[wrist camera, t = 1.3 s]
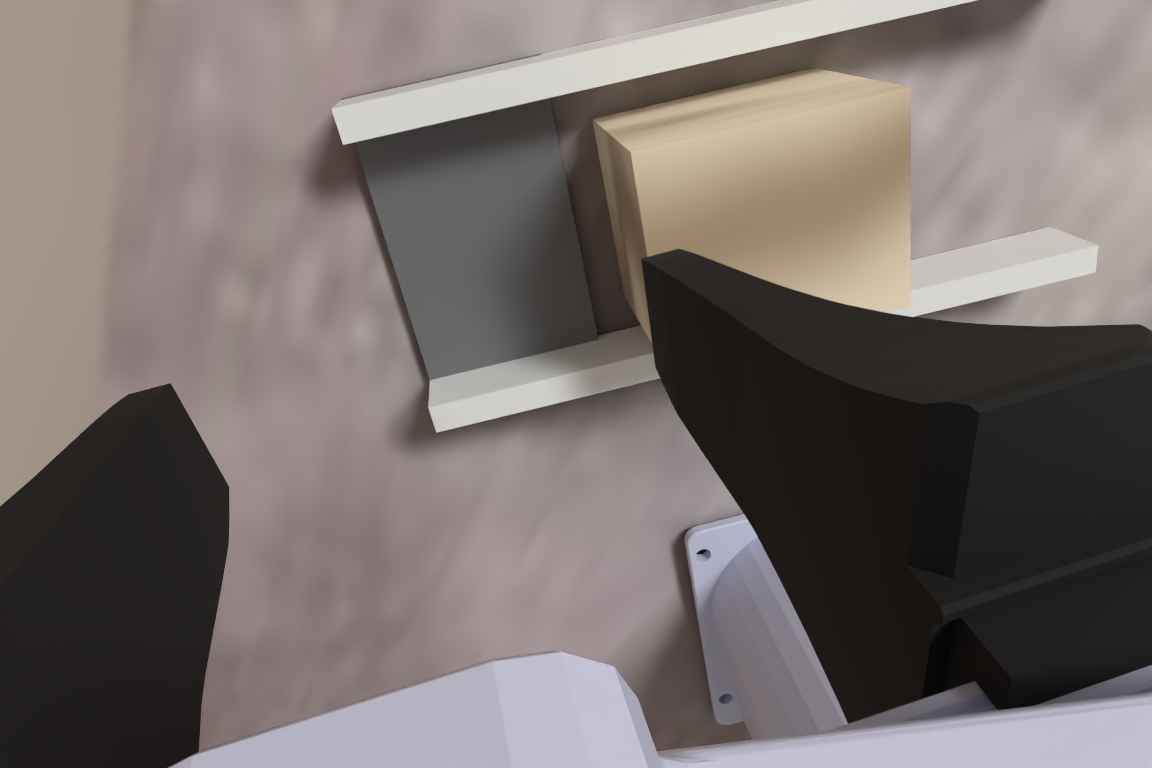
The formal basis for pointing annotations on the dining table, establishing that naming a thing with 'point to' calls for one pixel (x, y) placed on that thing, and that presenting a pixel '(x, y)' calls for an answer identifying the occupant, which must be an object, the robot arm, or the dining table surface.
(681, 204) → the maple block
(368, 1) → the dining table surface
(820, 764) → the robot arm
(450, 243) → the white u-shaped piece
